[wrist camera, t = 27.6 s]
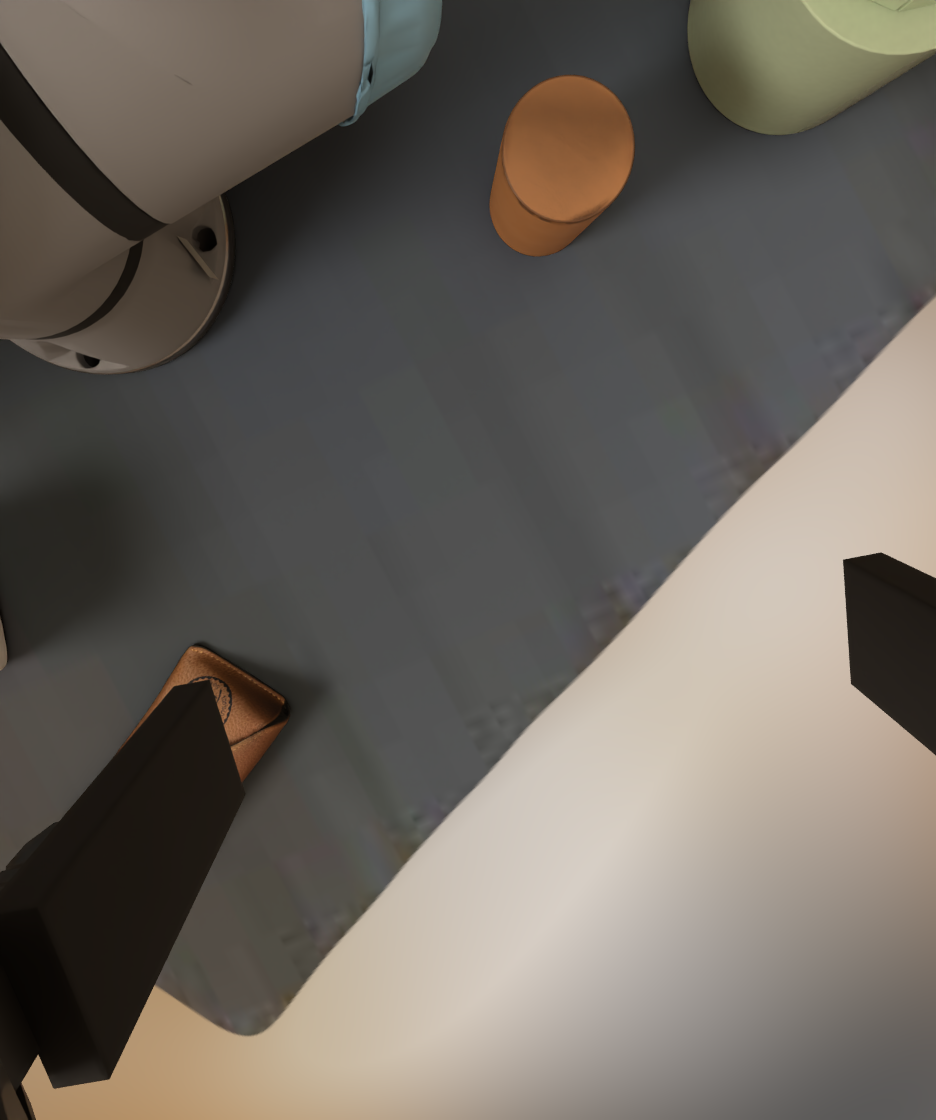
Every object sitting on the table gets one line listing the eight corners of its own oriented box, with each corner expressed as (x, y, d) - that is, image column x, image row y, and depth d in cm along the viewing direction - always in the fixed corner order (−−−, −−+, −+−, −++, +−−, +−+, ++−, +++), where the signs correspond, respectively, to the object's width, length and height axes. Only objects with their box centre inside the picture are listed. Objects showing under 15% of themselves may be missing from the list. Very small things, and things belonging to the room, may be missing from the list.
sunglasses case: (185, 636, 49) (202, 705, 44) (276, 665, 54) (300, 730, 49) (51, 828, 53) (52, 911, 48) (146, 840, 57) (156, 917, 53)
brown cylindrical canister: (469, 198, 43) (474, 142, 31) (545, 127, 42) (578, 42, 30) (532, 277, 44) (558, 251, 33) (607, 209, 43) (661, 157, 32)
